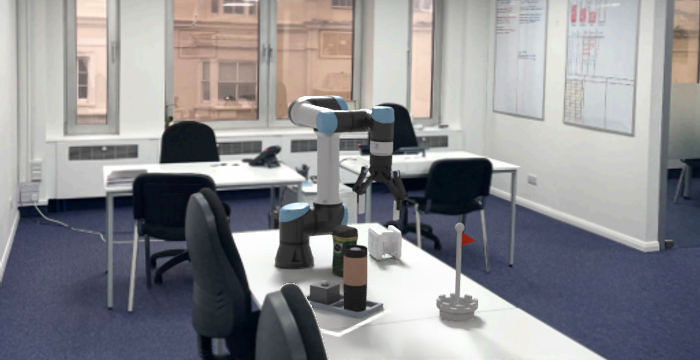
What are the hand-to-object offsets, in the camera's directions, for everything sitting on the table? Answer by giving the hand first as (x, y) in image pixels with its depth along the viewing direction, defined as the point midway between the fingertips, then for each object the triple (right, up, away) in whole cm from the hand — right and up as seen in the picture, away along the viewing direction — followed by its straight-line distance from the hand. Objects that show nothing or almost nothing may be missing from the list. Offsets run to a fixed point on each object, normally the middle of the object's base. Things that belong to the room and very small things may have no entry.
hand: (378, 216), depth 272 cm
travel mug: (-8, -29, -12) cm, 32 cm away
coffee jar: (-11, -23, +30) cm, 40 cm away
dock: (-13, -29, -9) cm, 33 cm away
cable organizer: (+4, -19, +55) cm, 59 cm away
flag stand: (+24, -31, -14) cm, 42 cm away
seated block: (-18, -28, -6) cm, 33 cm away
